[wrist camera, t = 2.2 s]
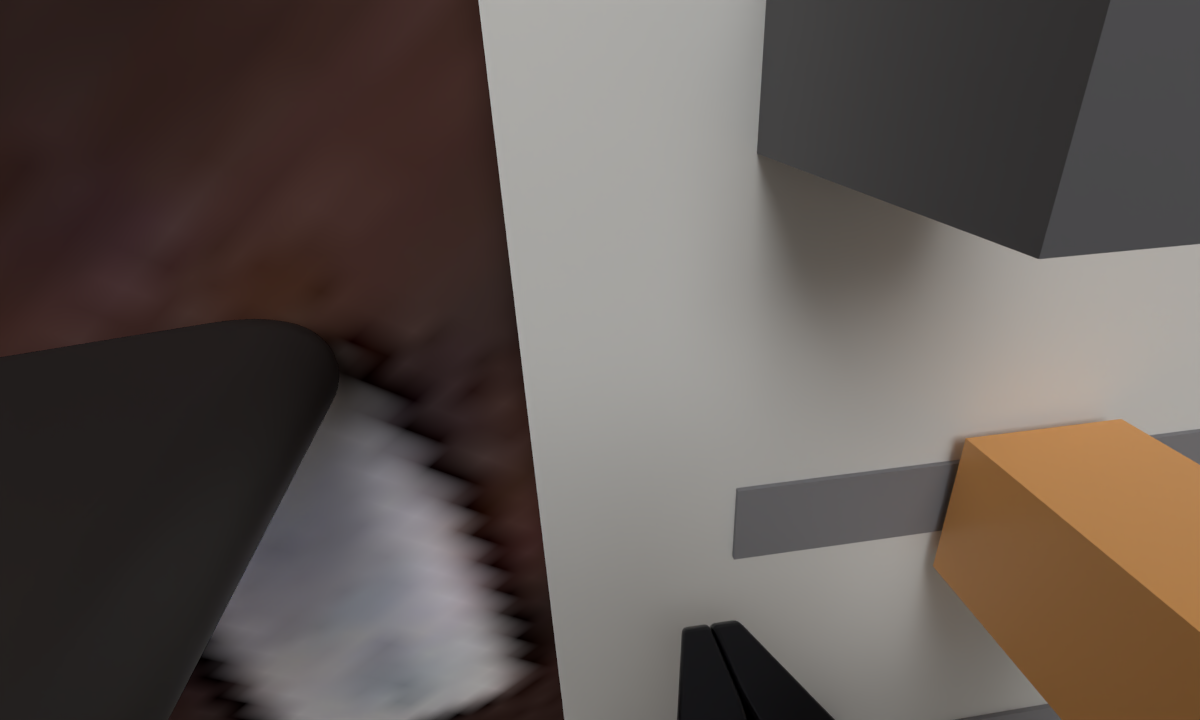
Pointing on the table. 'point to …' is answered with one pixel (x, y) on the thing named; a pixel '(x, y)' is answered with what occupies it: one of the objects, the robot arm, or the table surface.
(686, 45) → the breaker panel
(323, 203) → the table surface
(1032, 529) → the block
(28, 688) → the leaning round-cornered charcoal block
